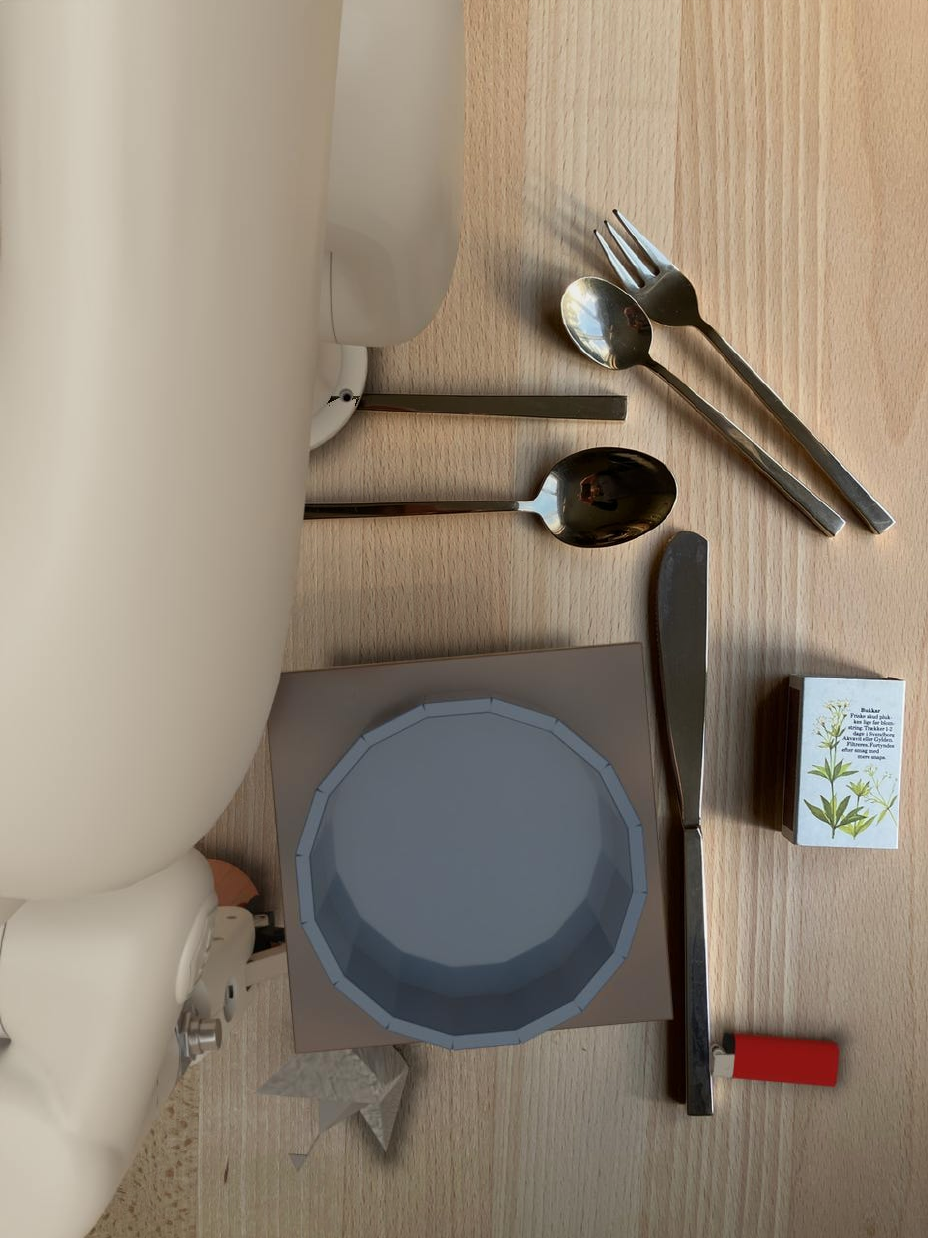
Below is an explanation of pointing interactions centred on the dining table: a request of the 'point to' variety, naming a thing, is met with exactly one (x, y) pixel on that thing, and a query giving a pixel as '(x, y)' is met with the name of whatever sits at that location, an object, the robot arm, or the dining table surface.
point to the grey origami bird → (345, 1087)
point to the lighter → (775, 1059)
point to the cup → (231, 884)
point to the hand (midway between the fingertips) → (197, 925)
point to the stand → (358, 694)
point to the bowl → (471, 871)
